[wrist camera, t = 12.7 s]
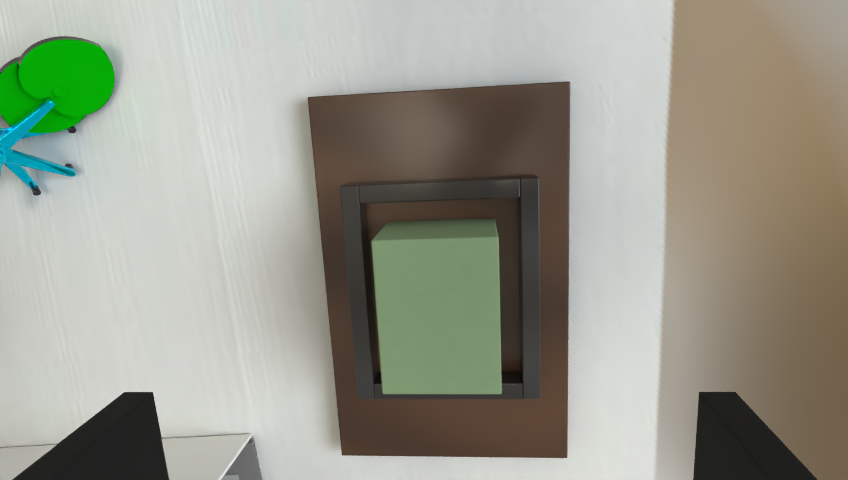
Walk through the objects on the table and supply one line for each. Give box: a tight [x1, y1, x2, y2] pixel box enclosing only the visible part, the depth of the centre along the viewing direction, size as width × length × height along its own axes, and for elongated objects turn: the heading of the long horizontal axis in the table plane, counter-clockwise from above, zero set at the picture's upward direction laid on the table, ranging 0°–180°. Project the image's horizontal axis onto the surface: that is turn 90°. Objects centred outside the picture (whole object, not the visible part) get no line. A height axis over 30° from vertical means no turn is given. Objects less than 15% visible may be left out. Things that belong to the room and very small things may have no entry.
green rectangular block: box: [371, 218, 502, 394], centre depth 28 cm, size 8×6×5 cm
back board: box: [308, 82, 570, 458], centre depth 30 cm, size 22×14×2 cm, turn 3°
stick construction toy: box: [0, 36, 115, 196], centre depth 29 cm, size 12×7×8 cm
